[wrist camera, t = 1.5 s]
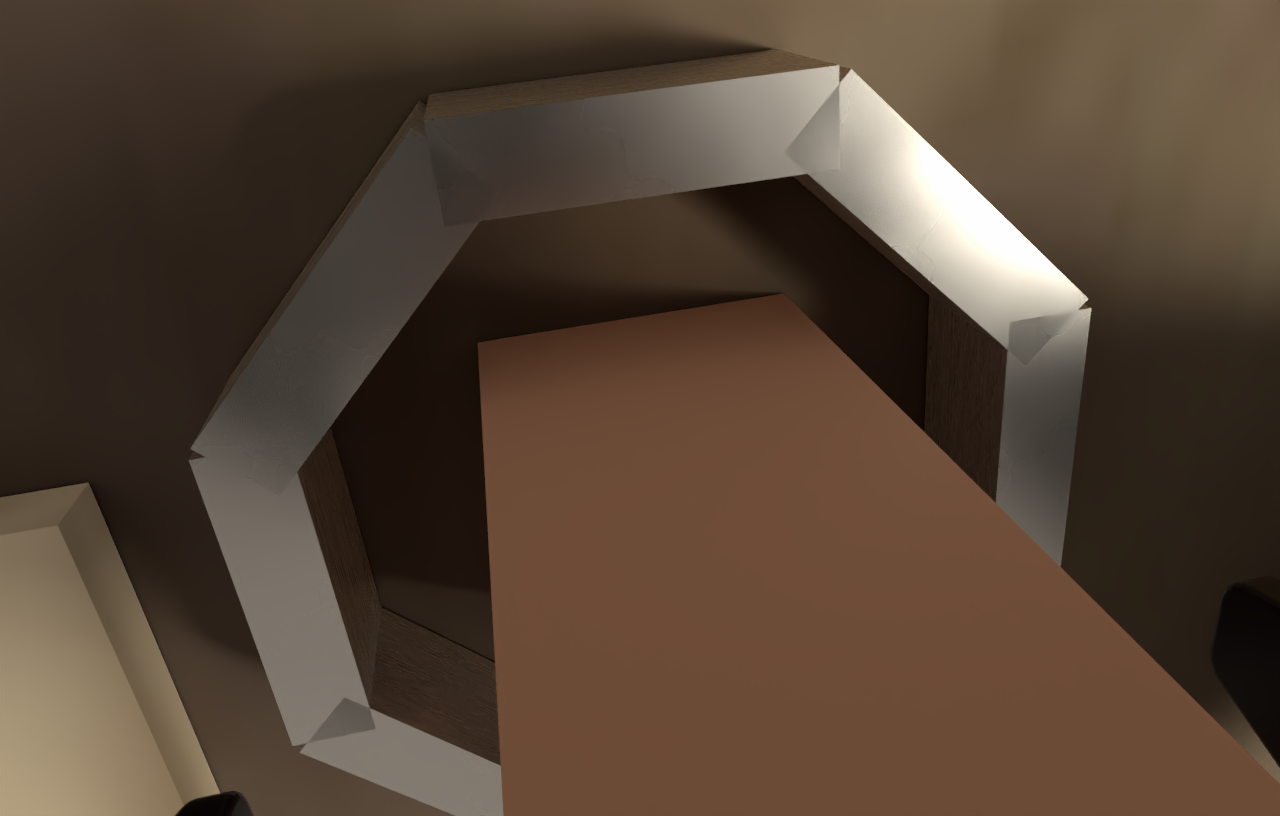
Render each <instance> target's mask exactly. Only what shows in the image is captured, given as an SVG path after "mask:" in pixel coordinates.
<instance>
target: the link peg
mask: <svg viewBox="0 0 1280 816" xmlns="http://www.w3.org/2000/svg"><path fill="white" fill-rule="evenodd" d="M478 361H479V379H480V397H481V415H482V434H483V452H484V470H485V488H486V506H487V525H488V543H489V561H490V579H491V598H492V616H493V634H494V652H495V671H496V689H497V707H498V725H499V744H500V762H501V780H502V798H503V816H1280V784H1279V783H1278V782H1277V781H1276V780H1275V779H1274V778H1273V777H1272V776H1271V775H1270V774H1269V773H1268V772H1267V771H1266V770H1265V769H1264V768H1263V767H1262V766H1261V765H1260V764H1259V763H1258V762H1257V761H1256V760H1255V759H1254V758H1253V757H1252V756H1251V755H1250V754H1249V753H1248V752H1247V751H1246V750H1245V749H1244V748H1243V747H1242V746H1241V745H1240V744H1239V743H1238V742H1237V741H1236V740H1235V739H1234V738H1233V737H1232V736H1231V735H1230V734H1229V733H1228V732H1227V731H1226V730H1225V729H1224V728H1222V727H1221V726H1220V725H1219V724H1218V723H1217V722H1216V721H1215V720H1214V719H1213V718H1212V717H1211V716H1210V715H1209V714H1208V713H1207V712H1206V711H1205V710H1204V709H1203V708H1202V707H1201V706H1200V705H1199V704H1198V703H1197V702H1196V701H1195V700H1194V699H1193V698H1192V697H1191V696H1190V695H1189V694H1188V693H1187V692H1186V691H1185V690H1184V689H1183V688H1182V687H1181V686H1180V685H1179V684H1178V683H1177V682H1176V681H1175V680H1174V679H1173V678H1172V677H1171V676H1170V675H1169V674H1168V673H1167V672H1166V671H1165V670H1164V669H1163V668H1162V667H1161V666H1160V665H1159V664H1158V663H1157V662H1156V661H1155V660H1154V659H1153V658H1152V657H1151V656H1150V655H1149V654H1148V653H1147V652H1146V651H1145V650H1144V649H1143V648H1142V647H1141V646H1140V645H1139V644H1138V643H1137V642H1136V641H1135V640H1134V639H1133V638H1132V637H1131V636H1130V635H1129V634H1128V633H1127V632H1126V631H1125V630H1124V629H1123V628H1121V627H1120V626H1119V625H1118V624H1117V623H1116V622H1115V621H1114V620H1113V619H1112V618H1111V617H1110V616H1109V615H1108V614H1107V613H1106V612H1105V611H1104V610H1103V609H1102V608H1101V607H1100V606H1099V605H1098V604H1097V603H1096V602H1095V601H1094V600H1093V599H1092V598H1091V597H1090V596H1089V595H1088V594H1087V593H1086V592H1085V591H1084V590H1083V589H1082V588H1081V587H1080V586H1079V585H1078V584H1077V583H1076V582H1075V581H1074V580H1073V579H1072V578H1071V577H1070V576H1069V575H1068V574H1067V573H1066V572H1065V571H1064V570H1063V569H1062V568H1061V567H1060V566H1059V565H1058V564H1057V563H1056V562H1055V561H1054V560H1053V559H1052V558H1051V557H1050V556H1049V555H1048V554H1047V553H1046V552H1045V551H1044V550H1043V549H1042V548H1041V547H1040V546H1039V545H1038V544H1037V543H1036V542H1035V541H1034V540H1033V539H1032V538H1031V537H1030V536H1029V535H1028V534H1027V533H1026V532H1025V531H1024V530H1023V529H1022V528H1021V527H1019V526H1018V525H1017V524H1016V523H1015V522H1014V521H1013V520H1012V519H1011V518H1010V517H1009V516H1008V515H1007V514H1006V513H1005V512H1004V511H1003V510H1002V509H1001V508H1000V507H999V506H998V505H997V504H996V503H995V502H994V501H993V500H992V499H991V498H990V497H989V496H988V495H987V494H986V493H985V492H984V491H983V490H982V489H981V488H980V487H979V486H978V485H977V484H976V483H975V482H974V481H973V480H972V479H971V478H970V477H969V476H968V475H967V474H966V473H965V472H964V471H963V470H962V469H961V468H960V467H959V466H958V465H957V464H956V463H955V462H954V461H953V460H952V459H951V458H950V457H949V456H948V455H947V454H946V453H945V452H944V451H943V450H942V449H941V448H940V447H939V446H938V445H937V444H936V443H935V442H934V441H933V440H932V439H931V438H930V437H929V436H928V435H927V434H926V433H925V432H924V431H923V430H922V429H921V428H920V427H919V426H917V425H916V424H915V423H914V422H913V421H912V420H911V419H910V418H909V417H908V416H907V415H906V414H905V413H904V412H903V411H902V410H901V409H900V408H899V407H898V406H897V405H896V404H895V403H894V402H893V401H892V400H891V399H890V398H889V397H888V396H887V395H886V394H885V393H884V392H883V391H882V390H881V389H880V388H879V387H878V386H877V385H876V384H875V383H874V382H873V381H872V380H871V379H870V378H869V377H868V376H867V375H866V374H865V373H864V372H863V371H862V370H861V369H860V368H859V367H858V366H857V365H856V364H855V363H854V362H853V361H852V360H851V359H850V358H849V357H848V356H847V355H846V354H845V353H844V352H843V351H842V350H841V349H840V348H839V347H838V346H837V345H836V344H835V343H834V342H833V341H832V340H831V339H830V338H829V337H828V336H827V335H826V334H825V333H824V332H823V331H822V330H821V329H820V328H819V327H818V326H816V325H815V324H814V323H813V322H812V321H811V320H810V319H809V318H808V317H807V316H806V315H805V314H804V313H803V312H802V311H801V310H800V309H799V308H798V307H797V306H796V305H795V304H794V303H793V302H792V301H791V300H790V299H789V298H788V297H787V296H786V295H785V294H784V293H783V294H777V295H771V296H765V297H758V298H752V299H746V300H740V301H733V302H727V303H721V304H715V305H708V306H702V307H696V308H690V309H683V310H677V311H671V312H665V313H658V314H652V315H646V316H640V317H633V318H627V319H621V320H615V321H608V322H602V323H596V324H590V325H583V326H577V327H571V328H565V329H558V330H552V331H546V332H540V333H533V334H527V335H521V336H515V337H509V338H502V339H496V340H490V341H484V342H478Z"/></svg>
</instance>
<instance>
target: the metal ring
mask: <svg viewBox="0 0 1280 816" xmlns="http://www.w3.org/2000/svg"><path fill="white" fill-rule="evenodd" d="M789 176H792V177H794V178H795V179H796V180H797V181H798V182H799V183H801V184H802V185H803V186H804V187H805V188H806V189H807V190H809V191H810V192H811V193H812V194H813V195H814V196H815V197H817V198H818V199H819V200H820V201H821V202H822V203H824V204H825V205H826V206H827V207H828V208H829V209H830V210H832V211H833V212H834V213H835V214H836V215H837V216H838V217H840V218H841V219H842V220H843V221H844V222H845V223H847V224H848V225H849V226H850V227H851V228H852V229H853V230H855V231H856V232H857V233H858V234H859V235H860V236H861V237H863V238H864V239H865V240H866V241H867V242H868V243H869V244H871V245H872V246H873V247H874V248H875V249H876V250H878V251H879V252H880V253H881V254H882V255H883V256H884V257H886V258H887V259H888V260H889V261H890V262H891V263H892V264H894V265H895V266H896V267H897V268H898V269H899V270H901V271H902V272H903V273H904V274H905V275H906V276H907V277H909V278H910V279H911V280H912V281H913V282H914V283H915V284H917V285H918V286H919V287H920V288H921V289H922V290H924V291H925V292H926V293H927V294H928V295H929V315H928V342H927V369H926V396H925V424H924V432H925V433H926V434H927V435H928V436H929V437H930V438H931V439H932V440H933V441H934V442H935V443H936V444H937V445H938V446H939V447H940V448H941V449H942V450H943V451H944V452H945V453H946V454H947V455H948V456H949V457H950V458H951V459H952V460H953V461H954V462H955V463H956V464H957V465H958V466H959V467H960V468H961V469H962V470H963V471H964V472H965V473H966V474H967V475H968V476H969V477H970V478H971V479H972V480H973V481H974V482H975V483H976V484H977V485H978V486H979V487H980V488H981V489H982V490H983V491H984V492H985V493H986V494H987V495H988V496H989V497H990V498H991V499H992V500H993V501H994V502H995V503H996V504H997V505H998V506H999V507H1000V508H1001V509H1002V510H1003V511H1004V512H1005V513H1006V514H1007V515H1008V516H1009V517H1010V518H1011V519H1012V520H1013V521H1014V522H1015V523H1016V524H1017V525H1018V526H1019V527H1021V528H1022V529H1023V530H1024V531H1025V532H1026V533H1027V534H1028V535H1029V536H1030V537H1031V538H1032V539H1033V540H1034V541H1035V542H1036V543H1037V544H1038V545H1039V546H1040V547H1041V548H1042V549H1043V550H1044V551H1045V552H1046V553H1047V554H1048V555H1049V556H1050V557H1051V558H1052V559H1053V560H1054V561H1055V562H1056V563H1057V564H1058V565H1059V566H1060V567H1061V561H1062V552H1063V544H1064V536H1065V527H1066V519H1067V510H1068V502H1069V493H1070V485H1071V477H1072V468H1073V460H1074V451H1075V443H1076V434H1077V426H1078V418H1079V409H1080V401H1081V392H1082V384H1083V375H1084V367H1085V359H1086V350H1087V342H1088V333H1089V325H1090V316H1091V308H1090V307H1088V306H1087V305H1085V304H1084V303H1085V302H1086V301H1087V300H1088V298H1087V297H1086V296H1085V295H1084V294H1083V293H1082V292H1081V291H1080V290H1079V289H1078V288H1077V287H1076V286H1075V285H1074V284H1073V283H1072V282H1071V281H1070V280H1069V279H1068V278H1067V277H1066V276H1064V275H1063V274H1062V273H1061V272H1060V271H1059V270H1058V269H1057V268H1056V267H1055V266H1054V265H1053V264H1052V263H1051V262H1050V261H1049V260H1048V259H1047V258H1046V257H1045V256H1044V255H1043V254H1042V253H1041V252H1040V251H1039V250H1038V249H1037V248H1036V247H1035V246H1034V245H1032V244H1031V243H1030V242H1029V241H1028V240H1027V239H1026V238H1025V237H1024V236H1023V235H1022V234H1021V233H1020V232H1019V231H1018V230H1017V229H1016V228H1015V227H1014V226H1013V225H1012V224H1011V223H1010V222H1009V221H1008V220H1007V219H1006V218H1005V217H1004V216H1003V215H1002V214H1000V213H999V212H998V211H997V210H996V209H995V208H994V207H993V206H992V205H991V204H990V203H989V202H988V201H987V200H986V199H985V198H984V197H983V196H982V195H981V194H980V193H979V192H978V191H977V190H976V189H975V188H974V187H973V186H972V185H971V184H969V183H968V182H967V181H966V180H965V179H964V178H963V177H962V176H961V175H960V174H959V173H958V172H957V171H956V170H955V169H954V168H953V167H952V166H951V165H950V164H949V163H948V162H947V161H946V160H945V159H944V158H943V157H942V156H941V155H940V154H939V153H937V152H936V151H935V150H934V149H933V148H932V147H931V146H930V145H929V144H928V143H927V142H926V141H925V140H924V139H923V138H922V137H921V136H920V135H919V134H918V133H917V132H916V131H915V130H914V129H913V128H912V127H911V126H910V125H909V124H908V123H906V122H905V121H904V120H903V119H902V118H901V117H900V116H899V115H898V114H897V113H896V112H895V111H894V110H893V109H892V108H891V107H890V106H889V105H888V104H887V103H886V102H885V101H884V100H883V99H882V98H881V97H880V96H879V95H878V94H877V93H876V92H874V91H873V90H872V89H871V88H870V87H869V86H868V85H867V84H866V83H865V82H864V81H863V80H862V79H861V78H860V77H859V76H858V75H857V74H856V73H855V72H854V71H853V70H852V69H849V68H845V67H841V66H839V65H837V64H833V63H829V62H825V61H821V60H817V59H813V58H809V57H805V56H801V55H797V54H793V53H789V52H785V51H781V50H777V49H774V50H767V51H759V52H751V53H743V54H736V55H728V56H720V57H712V58H705V59H697V60H689V61H681V62H674V63H666V64H658V65H650V66H643V67H635V68H627V69H619V70H612V71H604V72H596V73H588V74H581V75H573V76H565V77H558V78H550V79H542V80H534V81H527V82H519V83H511V84H503V85H496V86H488V87H480V88H472V89H465V90H457V91H449V92H441V93H434V94H429V97H428V102H427V106H426V105H425V104H424V103H422V102H421V101H420V100H419V101H418V103H417V104H416V106H415V107H414V108H413V110H412V111H411V113H410V114H409V116H408V117H407V119H406V120H405V122H404V123H403V125H402V126H401V127H400V129H399V130H398V132H397V133H396V135H395V136H394V138H393V139H392V141H391V142H390V143H389V145H388V146H387V148H386V149H385V151H384V152H383V154H382V155H381V157H380V158H379V160H378V161H377V162H376V164H375V165H374V167H373V168H372V170H371V171H370V173H369V174H368V176H367V177H366V179H365V180H364V181H363V183H362V184H361V186H360V187H359V189H358V190H357V192H356V193H355V195H354V196H353V198H352V199H351V200H350V202H349V203H348V205H347V206H346V208H345V209H344V211H343V212H342V214H341V215H340V217H339V218H338V219H337V221H336V222H335V224H334V225H333V227H332V228H331V230H330V231H329V233H328V234H327V236H326V237H325V238H324V240H323V241H322V243H321V244H320V246H319V247H318V249H317V250H316V252H315V253H314V254H313V256H312V257H311V259H310V260H309V262H308V263H307V265H306V266H305V268H304V269H303V271H302V272H301V273H300V275H299V276H298V278H297V279H296V281H295V282H294V284H293V285H292V287H291V288H290V290H289V291H288V292H287V294H286V295H285V297H284V298H283V300H282V301H281V303H280V304H279V306H278V307H277V309H276V310H275V311H274V313H273V314H272V316H271V317H270V319H269V320H268V322H267V323H266V325H265V326H264V328H263V329H262V330H261V332H260V333H259V335H258V336H257V338H256V339H255V341H254V342H253V344H252V345H251V347H250V348H249V349H248V351H247V352H246V354H245V355H244V357H243V358H242V360H241V361H240V363H239V364H238V366H237V367H236V368H235V370H234V371H233V373H232V375H231V376H230V378H229V380H228V382H227V383H226V385H225V387H224V389H223V391H222V392H221V394H220V396H219V398H218V400H217V401H216V403H215V405H214V407H213V409H212V410H211V412H210V414H209V416H208V418H207V419H206V421H205V423H204V425H203V427H202V428H201V430H200V432H199V434H198V436H197V437H196V439H195V441H194V443H193V445H192V446H191V448H190V449H191V450H193V453H192V455H191V457H190V459H189V462H190V465H191V468H192V471H193V473H194V476H195V479H196V482H197V484H198V487H199V490H200V493H201V495H202V498H203V501H204V504H205V506H206V509H207V512H208V515H209V517H210V520H211V523H212V526H213V528H214V531H215V534H216V537H217V539H218V542H219V545H220V548H221V550H222V553H223V556H224V559H225V561H226V564H227V567H228V570H229V572H230V575H231V578H232V581H233V583H234V586H235V589H236V592H237V594H238V597H239V600H240V603H241V605H242V608H243V611H244V614H245V616H246V619H247V622H248V625H249V627H250V630H251V633H252V636H253V638H254V641H255V644H256V647H257V649H258V652H259V655H260V658H261V660H262V663H263V666H264V669H265V671H266V674H267V677H268V680H269V682H270V685H271V688H272V691H273V693H274V696H275V699H276V702H277V704H278V707H279V710H280V713H281V715H282V718H283V721H284V724H285V726H286V729H287V732H288V735H289V737H290V740H291V743H292V746H296V745H301V748H300V753H302V754H304V755H307V756H309V757H312V758H314V759H317V760H319V761H322V762H324V763H326V764H329V765H331V766H334V767H336V768H339V769H341V770H344V771H346V772H349V773H351V774H354V775H356V776H359V777H361V778H364V779H366V780H368V781H371V782H373V783H376V784H378V785H381V786H383V787H386V788H388V789H391V790H393V791H396V792H398V793H401V794H403V795H406V796H408V797H411V798H413V799H415V800H418V801H420V802H423V803H425V804H428V805H430V806H433V807H435V808H438V809H440V810H443V811H445V812H448V813H450V814H453V815H455V816H503V798H502V780H501V762H500V744H499V725H498V707H497V689H496V671H495V663H494V662H492V661H490V660H488V659H486V658H484V657H482V656H480V655H478V654H476V653H474V652H472V651H470V650H468V649H466V648H464V647H462V646H460V645H458V644H456V643H454V642H452V641H449V640H447V639H445V638H443V637H441V636H439V635H437V634H435V633H433V632H431V631H429V630H427V629H425V628H423V627H421V626H419V625H417V624H415V623H413V622H411V621H409V620H407V619H405V618H403V617H401V616H399V615H396V614H394V613H392V612H390V611H388V610H386V609H384V608H382V607H381V603H380V600H379V596H378V593H377V589H376V586H375V582H374V578H373V575H372V571H371V568H370V564H369V561H368V557H367V554H366V550H365V546H364V543H363V539H362V536H361V532H360V529H359V525H358V522H357V518H356V514H355V511H354V507H353V504H352V500H351V497H350V493H349V489H348V486H347V482H346V479H345V475H344V472H343V468H342V465H341V461H340V457H339V454H338V450H337V447H336V443H335V440H334V436H333V433H332V429H331V425H332V424H333V422H334V421H335V419H336V418H337V417H338V415H339V414H340V413H341V411H342V410H343V409H344V407H345V406H346V404H347V403H348V402H349V400H350V399H351V398H352V396H353V395H354V393H355V392H356V391H357V389H358V388H359V387H360V385H361V384H362V382H363V381H364V380H365V378H366V377H367V376H368V374H369V373H370V371H371V370H372V369H373V367H374V366H375V365H376V363H377V362H378V361H379V359H380V358H381V356H382V355H383V354H384V352H385V351H386V350H387V348H388V347H389V345H390V344H391V343H392V341H393V340H394V339H395V337H396V336H397V334H398V333H399V332H400V330H401V329H402V328H403V326H404V325H405V324H406V322H407V321H408V319H409V318H410V317H411V315H412V314H413V313H414V311H415V310H416V308H417V307H418V306H419V304H420V303H421V302H422V300H423V299H424V297H425V296H426V295H427V293H428V292H429V291H430V289H431V288H432V287H433V285H434V284H435V282H436V281H437V280H438V278H439V277H440V276H441V274H442V273H443V271H444V270H445V269H446V267H447V266H448V265H449V263H450V262H451V260H452V259H453V258H454V256H455V255H456V254H457V252H458V251H459V250H460V248H461V247H462V245H463V244H464V243H465V241H466V240H467V239H468V237H469V236H470V234H471V233H472V232H473V230H474V229H475V228H476V226H477V225H478V223H479V222H480V221H486V220H493V219H500V218H507V217H514V216H520V215H527V214H534V213H541V212H548V211H555V210H562V209H569V208H575V207H582V206H589V205H596V204H603V203H610V202H617V201H624V200H631V199H637V198H644V197H651V196H658V195H665V194H672V193H679V192H686V191H692V190H699V189H706V188H713V187H720V186H727V185H734V184H741V183H747V182H754V181H761V180H768V179H775V178H782V177H789Z"/></svg>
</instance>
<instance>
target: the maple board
mask: <svg viewBox="0 0 1280 816" xmlns="http://www.w3.org/2000/svg"><path fill="white" fill-rule="evenodd" d="M215 794H220V792H219V789H218V787H217V785H216V782H215V780H214V777H213V775H212V773H211V770H210V768H209V766H208V763H207V761H206V759H205V756H204V754H203V752H202V749H201V747H200V744H199V742H198V740H197V737H196V735H195V733H194V730H193V728H192V726H191V723H190V721H189V718H188V716H187V714H186V711H185V709H184V707H183V704H182V702H181V700H180V697H179V695H178V692H177V690H176V688H175V685H174V683H173V681H172V678H171V676H170V674H169V671H168V669H167V666H166V664H165V662H164V659H163V657H162V655H161V652H160V650H159V648H158V645H157V643H156V641H155V638H154V636H153V633H152V631H151V629H150V626H149V624H148V622H147V619H146V617H145V615H144V612H143V610H142V607H141V605H140V603H139V600H138V598H137V596H136V593H135V591H134V589H133V586H132V584H131V581H130V579H129V577H128V574H127V572H126V570H125V567H124V565H123V563H122V560H121V558H120V555H119V553H118V551H117V548H116V546H115V544H114V541H113V539H112V537H111V534H110V532H109V529H108V527H107V525H106V522H105V520H104V518H103V515H102V513H101V511H100V508H99V506H98V504H97V501H96V499H95V496H94V494H93V492H92V489H91V487H90V485H89V483H83V484H77V485H71V486H65V487H59V488H53V489H47V490H41V491H35V492H30V493H24V494H18V495H12V496H6V497H0V816H175V814H176V813H177V812H178V811H179V810H180V809H181V808H182V807H183V806H184V805H185V804H186V803H188V802H189V801H191V800H193V799H196V798H200V797H205V796H210V795H215Z"/></svg>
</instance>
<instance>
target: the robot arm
mask: <svg viewBox="0 0 1280 816" xmlns="http://www.w3.org/2000/svg"><path fill="white" fill-rule="evenodd" d="M1210 657H1211V663H1212V666H1213V669H1214V671H1215V674H1216V676H1217V678H1218V679H1219V681H1220V682H1221V684H1222V685H1223V687H1224V688H1225V690H1226V691H1227V693H1228V694H1229V695H1230V697H1231V698H1232V700H1233V701H1234V703H1235V704H1236V706H1237V707H1238V708H1239V710H1240V711H1241V713H1242V714H1243V716H1244V717H1245V718H1246V720H1247V721H1248V723H1249V724H1250V726H1251V727H1252V729H1253V730H1254V731H1255V733H1256V734H1257V736H1258V737H1259V739H1260V740H1261V742H1262V743H1263V744H1264V746H1265V747H1266V749H1267V750H1268V752H1269V753H1270V754H1271V756H1272V757H1273V759H1274V760H1275V762H1276V763H1277V765H1278V766H1279V767H1280V578H1276V577H1263V578H1258V579H1253V580H1248V581H1243V582H1238V583H1234V584H1232V585H1230V586H1228V588H1227V589H1226V590H1225V591H1224V593H1223V595H1222V597H1221V602H1220V606H1219V611H1218V616H1217V620H1216V625H1215V630H1214V634H1213V639H1212V644H1211V649H1210ZM175 816H253V813H252V811H251V808H250V806H249V803H248V801H247V800H246V798H245V797H244V796H243V795H242V794H241V793H240V792H236V791H229V792H224V793H220V794H215V795H210V796H205V797H200V798H196V799H193V800H191V801H189V802H188V803H186V804H185V805H184V806H183V807H182V808H181V809H180V810H179V811H178V812H177V813H176V814H175Z"/></svg>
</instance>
